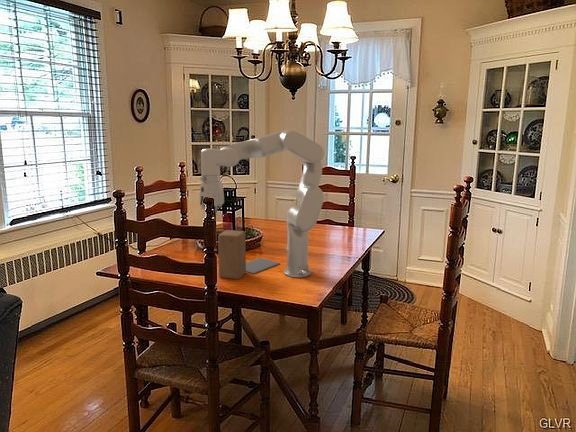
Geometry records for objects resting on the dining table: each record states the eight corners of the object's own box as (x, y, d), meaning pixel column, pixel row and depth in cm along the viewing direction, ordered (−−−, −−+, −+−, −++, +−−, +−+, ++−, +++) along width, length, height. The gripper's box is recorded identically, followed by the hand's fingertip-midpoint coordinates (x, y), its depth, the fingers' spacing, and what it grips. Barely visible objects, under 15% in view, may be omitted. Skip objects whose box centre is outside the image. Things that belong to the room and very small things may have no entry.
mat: (253, 274, 209) (253, 273, 209) (233, 268, 217) (233, 267, 216) (279, 264, 223) (279, 262, 223) (259, 258, 231) (259, 257, 231)
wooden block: (239, 279, 202) (239, 236, 197) (218, 278, 204) (217, 234, 199) (246, 272, 211) (246, 230, 207) (226, 270, 213) (225, 229, 209)
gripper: (203, 181, 180) (204, 226, 184) (230, 177, 192) (231, 220, 196) (190, 179, 185) (192, 223, 189) (217, 176, 196) (218, 217, 200)
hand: (212, 221), depth 192 cm, fingers closed
